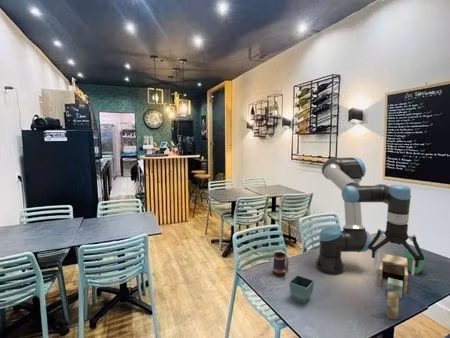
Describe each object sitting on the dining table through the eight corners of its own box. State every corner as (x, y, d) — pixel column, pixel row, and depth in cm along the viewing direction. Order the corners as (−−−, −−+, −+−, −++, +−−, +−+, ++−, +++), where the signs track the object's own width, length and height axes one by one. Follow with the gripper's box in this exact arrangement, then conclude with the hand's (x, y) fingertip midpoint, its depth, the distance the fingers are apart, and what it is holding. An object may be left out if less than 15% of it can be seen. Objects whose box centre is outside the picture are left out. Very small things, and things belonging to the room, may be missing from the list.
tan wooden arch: (378, 285, 135) (379, 267, 134) (380, 269, 151) (381, 253, 150) (406, 292, 129) (408, 273, 128) (405, 275, 145) (406, 257, 144)
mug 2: (428, 276, 143) (429, 259, 142) (408, 275, 145) (409, 257, 144) (414, 264, 158) (415, 247, 156) (396, 262, 160) (397, 246, 158)
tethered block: (383, 316, 112) (384, 294, 111) (387, 288, 132) (388, 269, 131) (400, 321, 109) (401, 299, 107) (402, 292, 129) (403, 273, 128)
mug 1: (270, 272, 150) (270, 252, 148) (280, 269, 153) (280, 249, 151) (281, 281, 141) (282, 259, 139) (292, 278, 144) (292, 256, 142)
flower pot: (296, 291, 131) (296, 274, 130) (314, 298, 125) (314, 280, 124) (288, 300, 124) (288, 282, 123) (306, 307, 119) (307, 288, 118)
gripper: (362, 219, 115) (360, 265, 118) (435, 230, 101) (430, 282, 104) (365, 214, 121) (362, 258, 124) (434, 224, 107) (429, 273, 110)
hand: (393, 269), depth 114 cm, fingers open, 13 cm apart
